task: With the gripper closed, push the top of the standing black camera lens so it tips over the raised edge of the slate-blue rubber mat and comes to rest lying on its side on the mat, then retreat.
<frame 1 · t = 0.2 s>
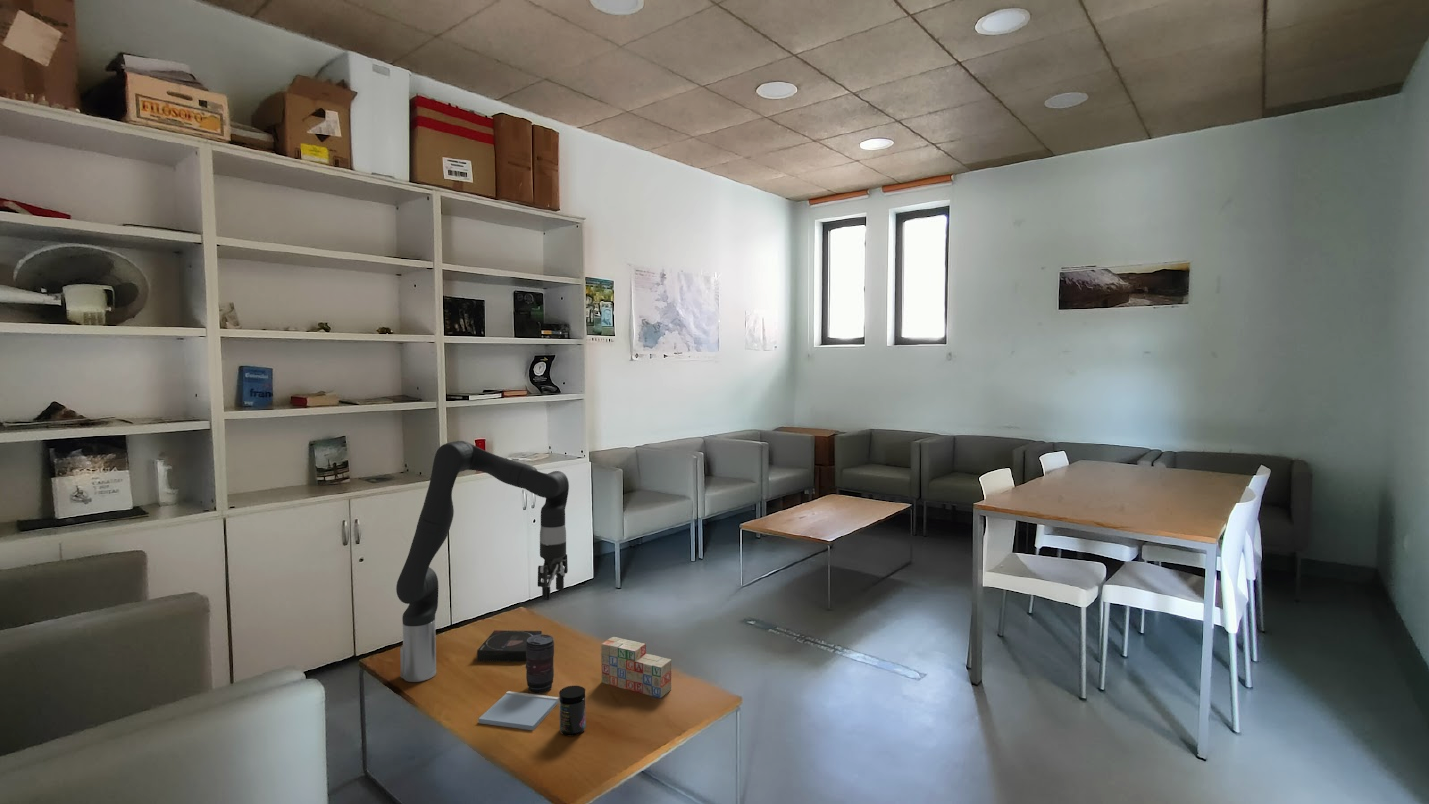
hand: (553, 594, 197), 29 cm above the table, fingers open, 8 cm apart
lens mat: (519, 712, 185), on the table
supplement container: (572, 730, 176), on the table
portable cd player: (511, 652, 225), on the table
camera lens: (540, 689, 199), on the table
stack of blocks: (636, 687, 201), on the table
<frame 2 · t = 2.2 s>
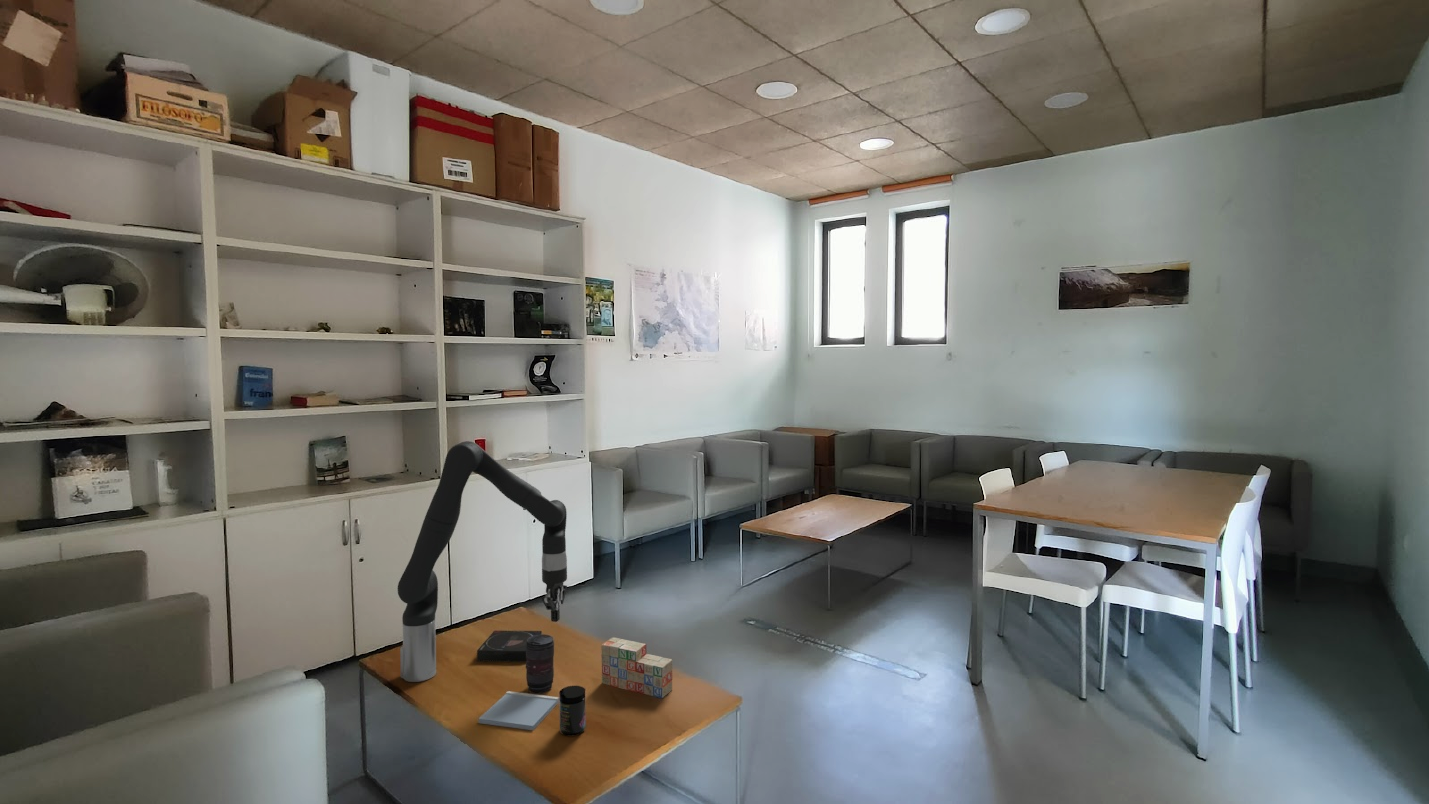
hand: (555, 620, 208), 17 cm above the table, fingers closed
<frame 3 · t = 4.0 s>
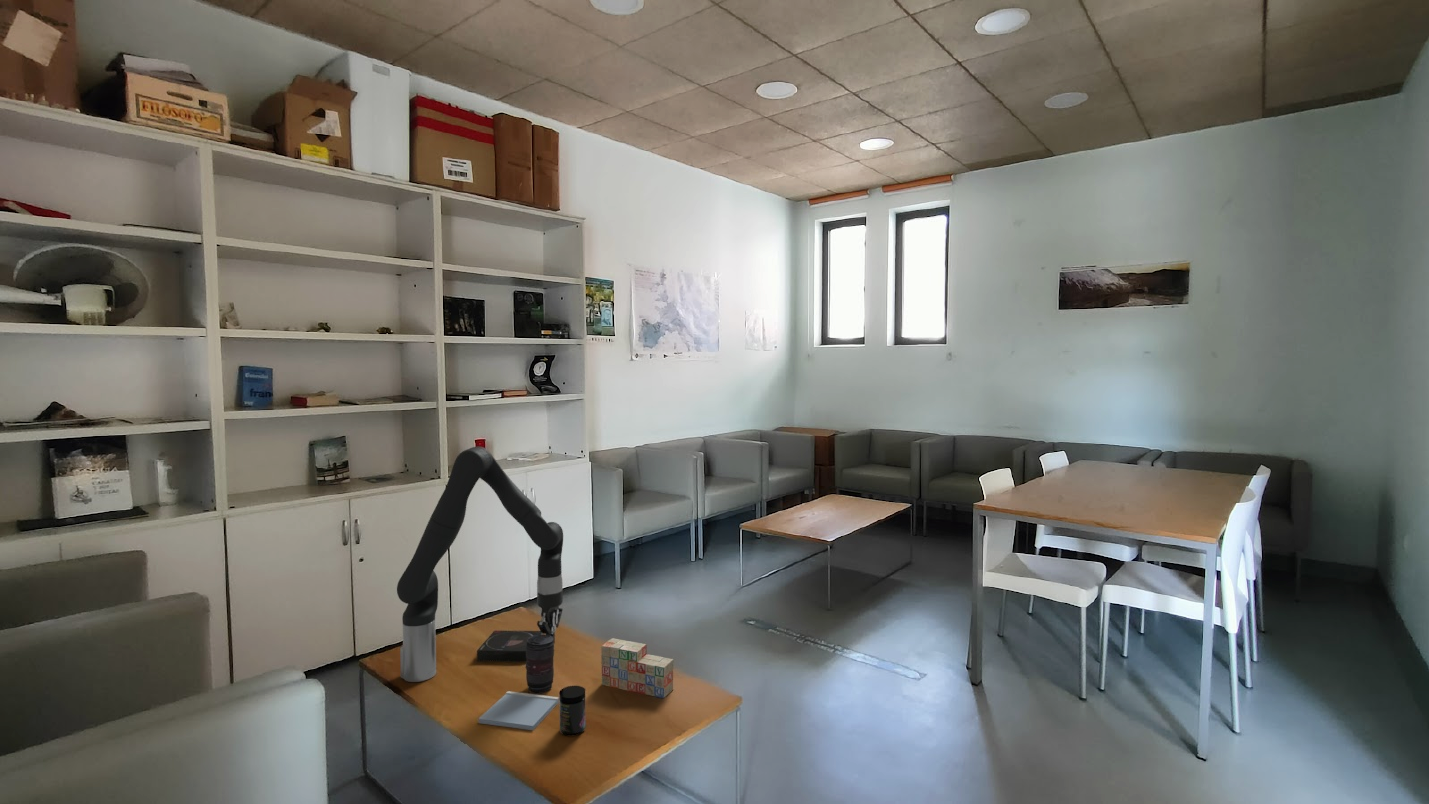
hand: (550, 644, 205), 10 cm above the table, fingers closed
camera lens: (540, 689, 199), on the table, touching gripper
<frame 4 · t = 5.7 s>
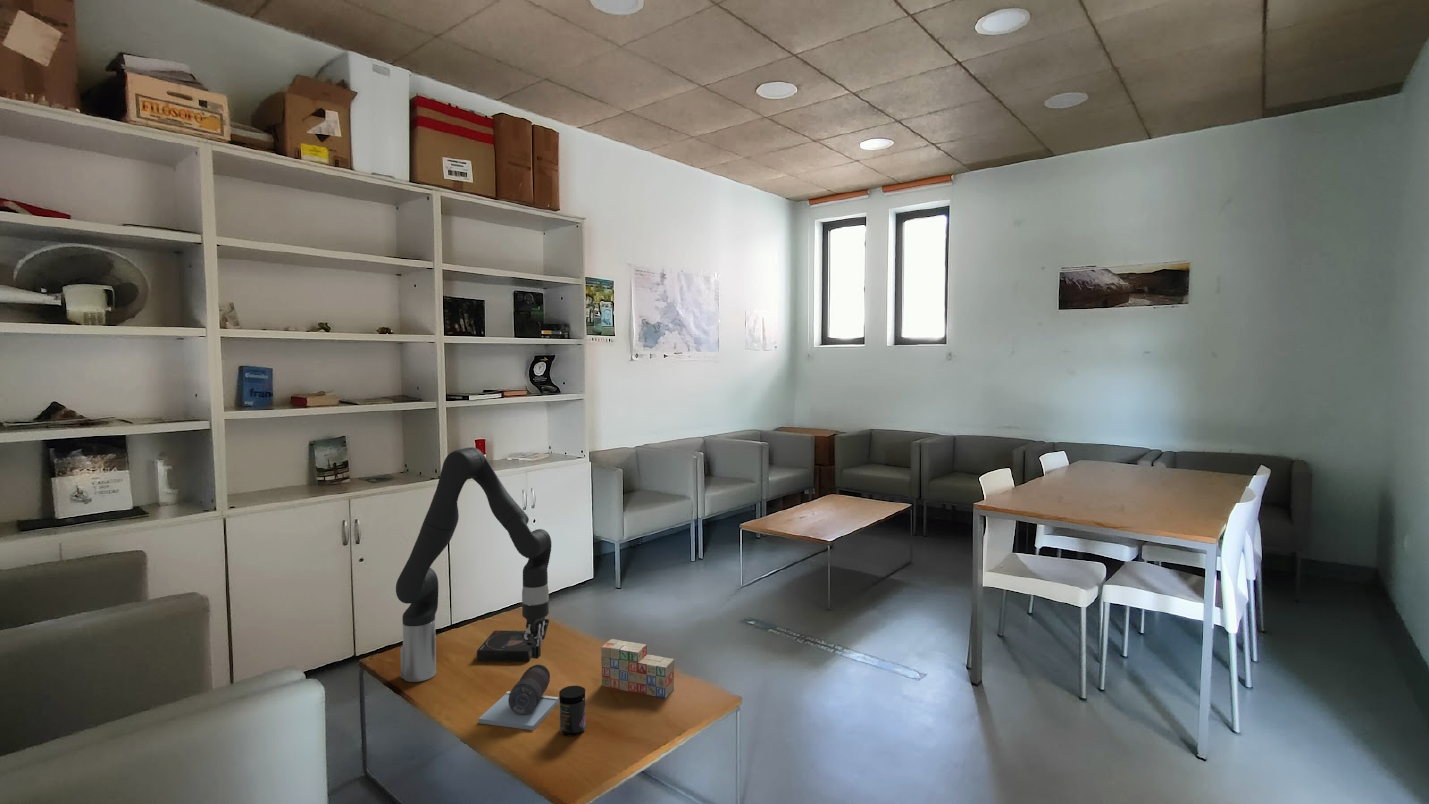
hand: (536, 657, 196), 11 cm above the table, fingers closed
camera lens: (539, 675, 196), point 5 cm above the table, touching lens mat
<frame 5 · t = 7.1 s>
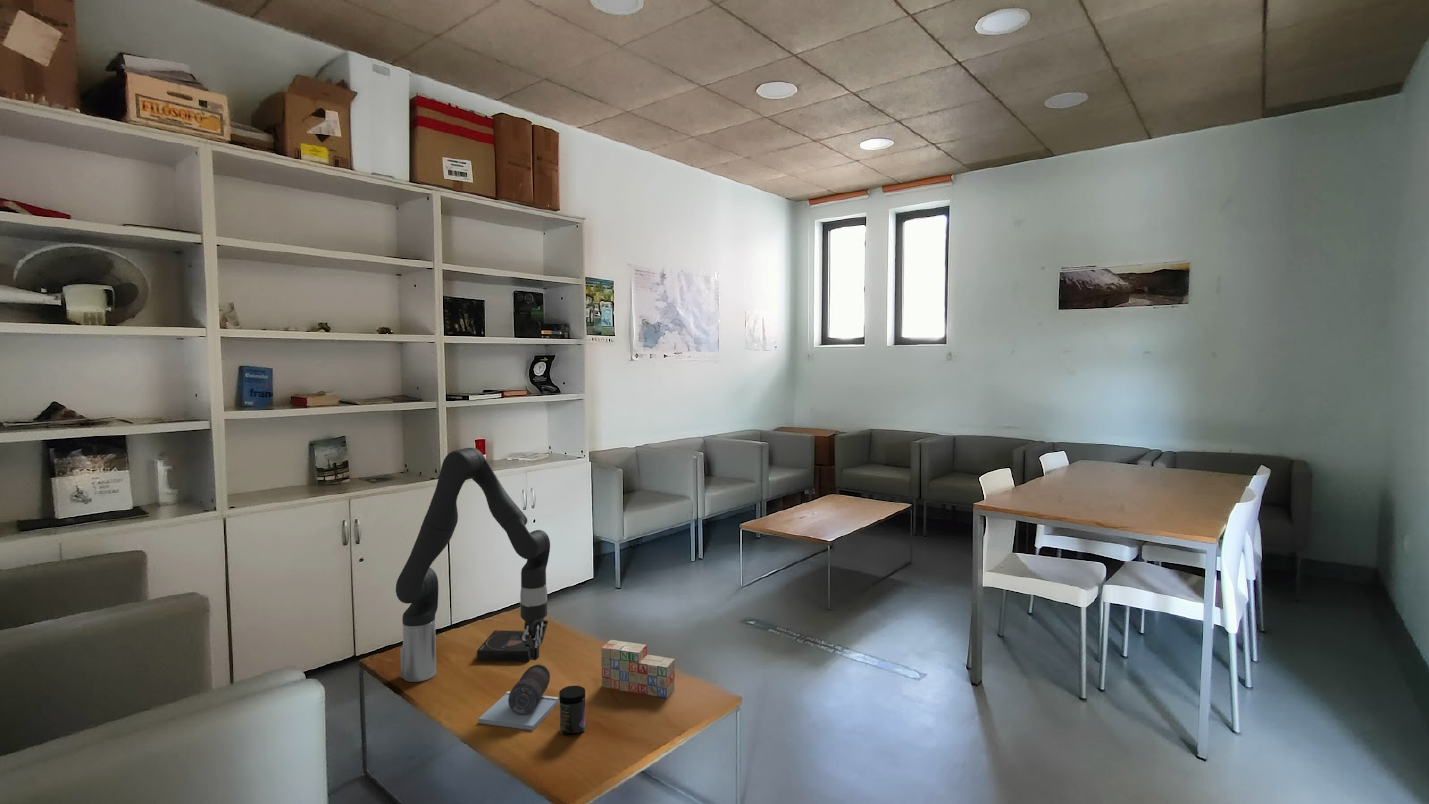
hand: (534, 658, 195), 10 cm above the table, fingers closed
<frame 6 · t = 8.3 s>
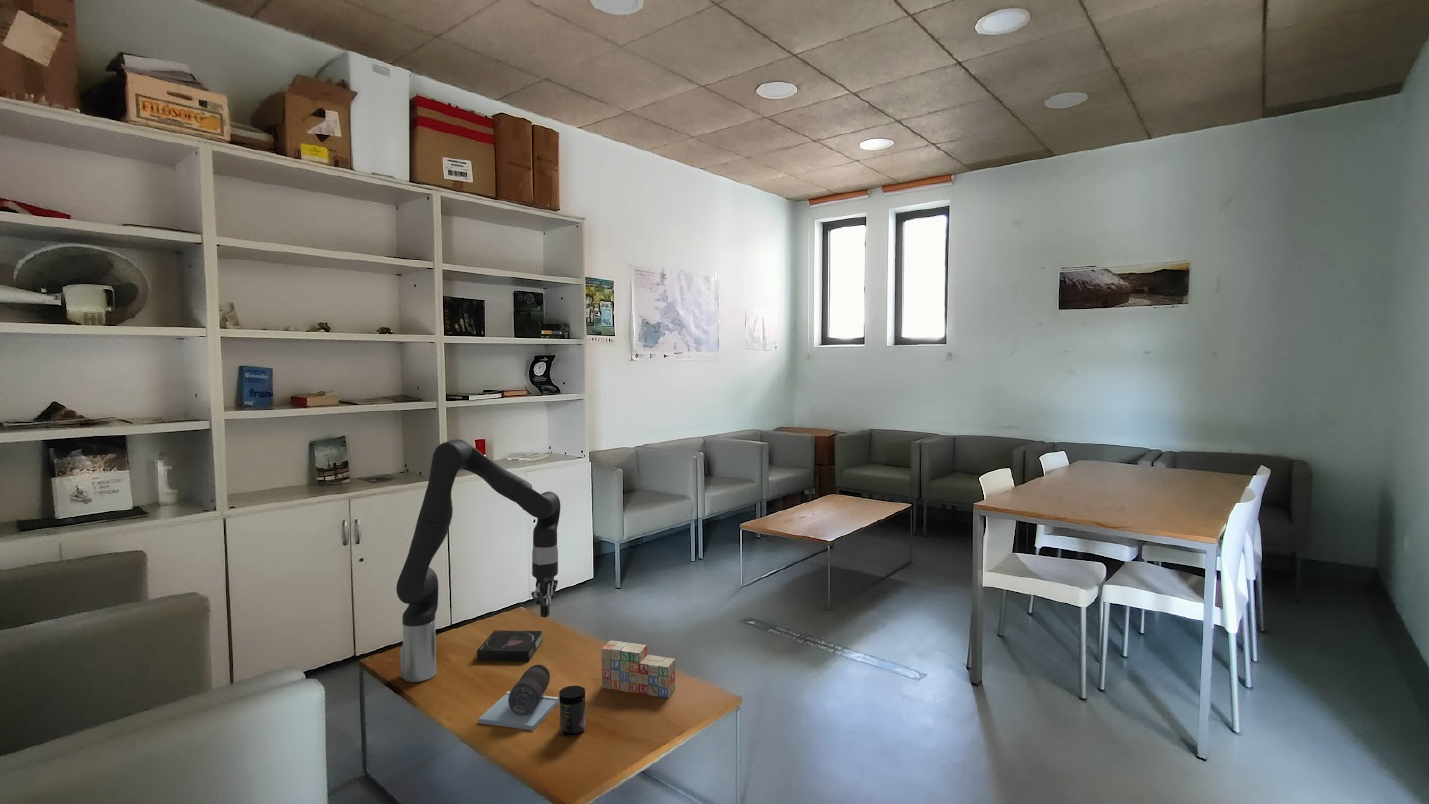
hand: (544, 616, 201), 21 cm above the table, fingers closed
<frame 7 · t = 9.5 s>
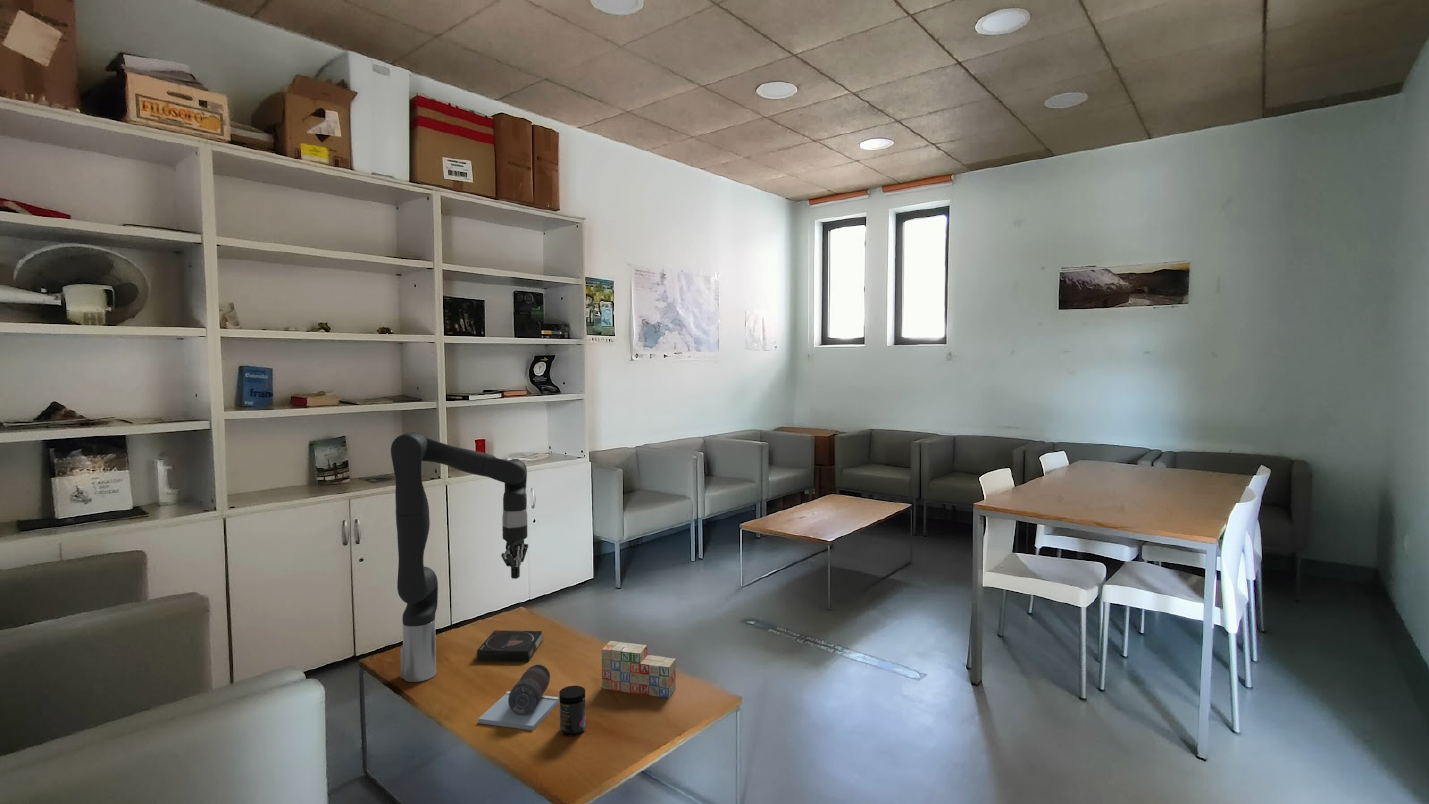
hand: (515, 577, 211), 29 cm above the table, fingers closed
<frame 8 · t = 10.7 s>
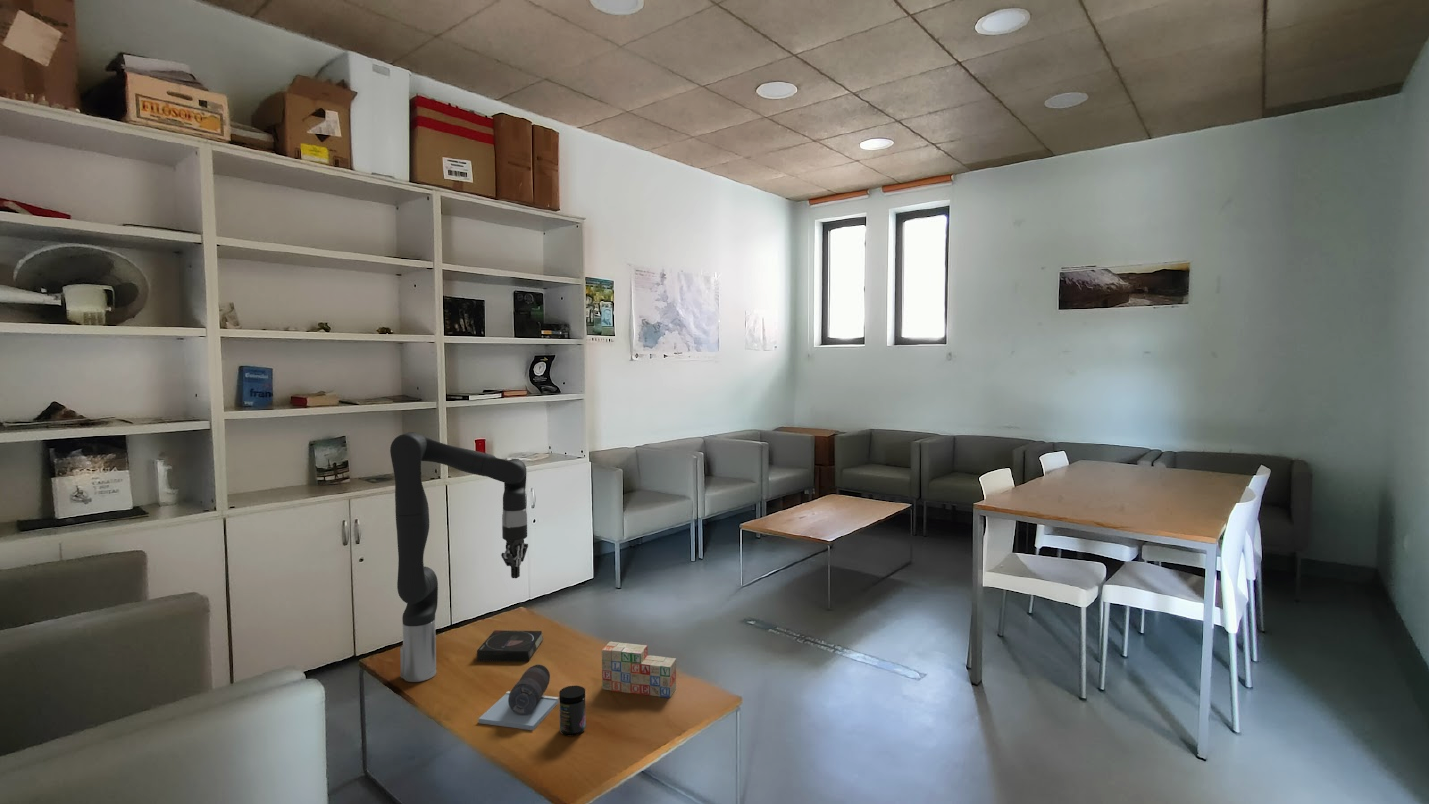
hand: (515, 577, 211), 29 cm above the table, fingers closed
at the end: camera lens tilted 90°; camera lens inside the target area (11.4 cm from its centre), point 5.3 cm above the table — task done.
